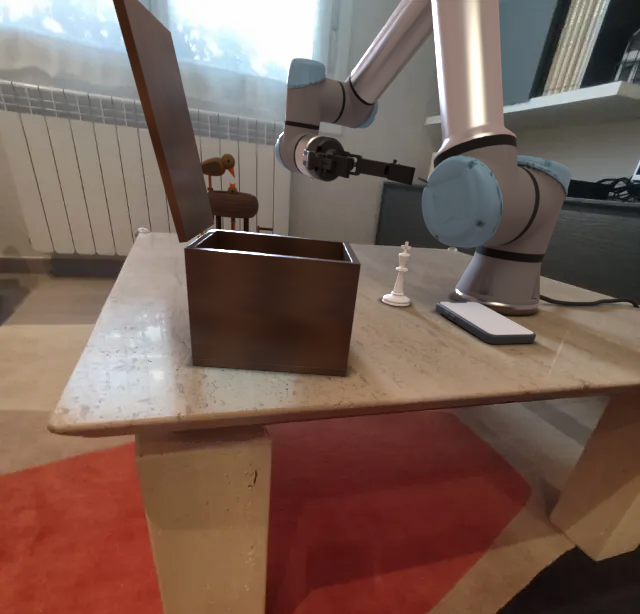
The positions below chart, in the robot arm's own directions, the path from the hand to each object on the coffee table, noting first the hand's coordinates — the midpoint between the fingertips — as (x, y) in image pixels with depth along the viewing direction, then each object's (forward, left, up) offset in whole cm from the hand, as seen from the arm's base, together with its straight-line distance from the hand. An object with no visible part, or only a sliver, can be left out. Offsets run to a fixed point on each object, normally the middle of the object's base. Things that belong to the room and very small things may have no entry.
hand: (381, 172), depth 72 cm
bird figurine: (+25, -2, -20) cm, 32 cm away
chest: (+15, +34, -19) cm, 42 cm away
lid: (+25, +34, +1) cm, 43 cm away
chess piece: (-5, +8, -20) cm, 22 cm away
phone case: (-17, +18, -19) cm, 31 cm away
